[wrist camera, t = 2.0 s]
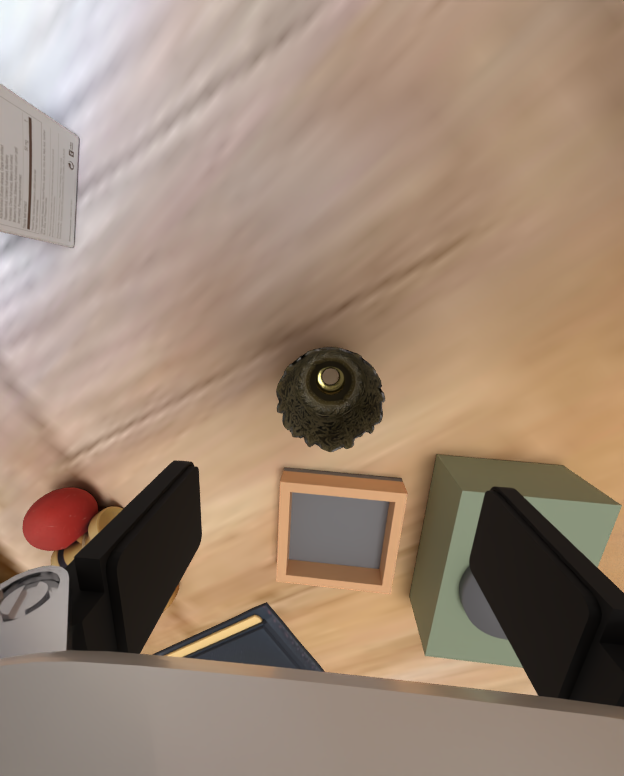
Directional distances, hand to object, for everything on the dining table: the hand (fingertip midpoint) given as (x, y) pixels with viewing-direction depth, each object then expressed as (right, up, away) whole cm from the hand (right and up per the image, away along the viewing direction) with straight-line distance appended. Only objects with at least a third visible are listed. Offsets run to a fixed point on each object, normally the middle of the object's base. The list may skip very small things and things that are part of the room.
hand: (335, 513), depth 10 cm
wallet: (-10, -32, +30) cm, 45 cm away
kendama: (-23, -13, +25) cm, 36 cm away
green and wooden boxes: (+9, -11, +22) cm, 26 cm away
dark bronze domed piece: (+1, +5, +18) cm, 19 cm away
